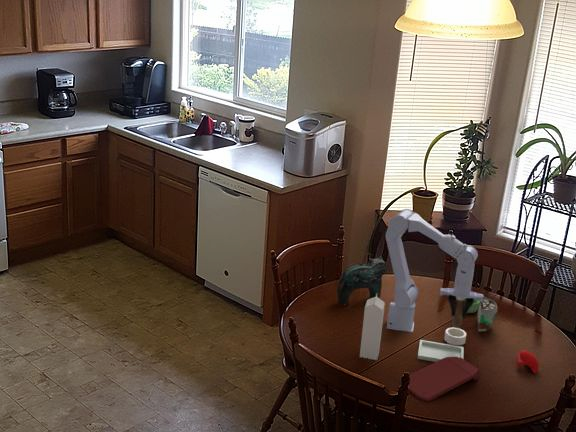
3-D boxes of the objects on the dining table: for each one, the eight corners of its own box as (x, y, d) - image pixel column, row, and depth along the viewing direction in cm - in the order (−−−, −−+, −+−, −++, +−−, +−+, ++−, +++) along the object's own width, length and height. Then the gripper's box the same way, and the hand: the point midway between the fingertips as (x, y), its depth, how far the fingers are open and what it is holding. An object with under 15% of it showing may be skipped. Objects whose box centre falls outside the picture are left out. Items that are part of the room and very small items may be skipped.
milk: (359, 357, 237) (365, 298, 230) (362, 348, 243) (367, 290, 235) (377, 360, 236) (383, 301, 229) (379, 351, 242) (386, 293, 234)
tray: (417, 359, 238) (417, 355, 237) (419, 344, 248) (420, 339, 247) (462, 367, 235) (463, 363, 234) (462, 351, 245) (463, 347, 244)
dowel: (451, 326, 248) (455, 301, 244) (452, 322, 251) (456, 297, 247) (461, 328, 247) (465, 302, 244) (461, 324, 250) (465, 299, 247)
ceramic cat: (377, 294, 284) (382, 248, 277) (386, 301, 278) (391, 255, 272) (334, 301, 276) (338, 254, 269) (341, 308, 270) (346, 260, 264)
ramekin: (481, 307, 278) (483, 297, 277) (474, 316, 271) (475, 306, 270) (459, 301, 283) (461, 291, 281) (451, 309, 275) (453, 299, 274)
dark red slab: (424, 412, 216) (482, 381, 228) (424, 400, 214) (483, 369, 226) (398, 392, 226) (456, 363, 237) (398, 380, 224) (456, 351, 235)
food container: (495, 337, 256) (499, 312, 253) (477, 334, 257) (482, 310, 254) (492, 321, 268) (497, 297, 264) (476, 319, 269) (480, 295, 265)
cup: (444, 344, 249) (445, 335, 248) (444, 334, 256) (446, 326, 254) (464, 347, 247) (466, 339, 246) (464, 338, 254) (466, 329, 253)
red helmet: (510, 358, 236) (525, 357, 231) (518, 347, 239) (533, 346, 235) (522, 377, 237) (537, 376, 232) (530, 366, 241) (544, 365, 236)
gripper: (441, 282, 241) (436, 317, 245) (485, 288, 238) (479, 324, 242) (442, 274, 247) (437, 308, 252) (485, 280, 244) (479, 315, 249)
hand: (458, 315), depth 248 cm, fingers closed on dowel, 3 cm apart
